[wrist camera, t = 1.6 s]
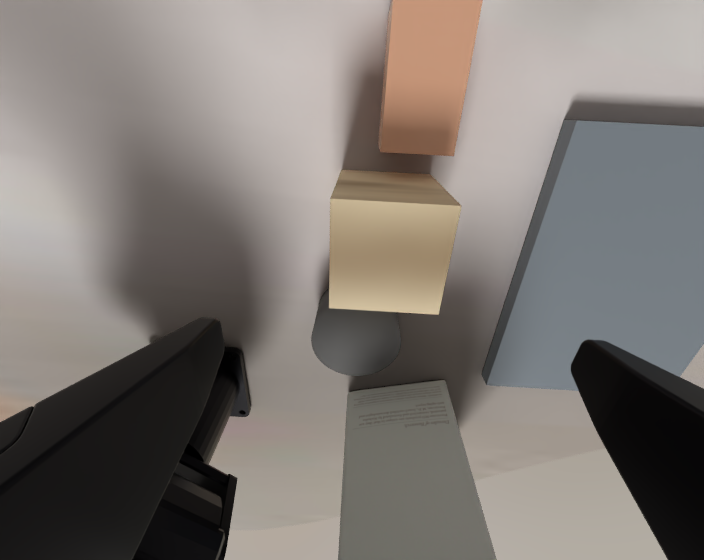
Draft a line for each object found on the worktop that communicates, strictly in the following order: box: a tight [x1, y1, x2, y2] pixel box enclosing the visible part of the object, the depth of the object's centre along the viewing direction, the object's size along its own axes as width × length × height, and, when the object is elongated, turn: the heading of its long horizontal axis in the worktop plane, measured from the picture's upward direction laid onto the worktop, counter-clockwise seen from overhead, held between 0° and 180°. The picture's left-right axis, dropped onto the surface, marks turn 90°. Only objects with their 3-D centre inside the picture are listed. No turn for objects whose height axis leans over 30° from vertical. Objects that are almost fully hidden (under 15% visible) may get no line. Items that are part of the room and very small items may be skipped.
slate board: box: [482, 120, 704, 391], centre depth 18 cm, size 16×12×1 cm
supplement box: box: [338, 380, 496, 560], centre depth 19 cm, size 7×7×13 cm
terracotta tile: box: [378, 0, 483, 156], centre depth 13 cm, size 5×3×3 cm, turn 177°
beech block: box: [329, 170, 461, 315], centre depth 15 cm, size 4×4×6 cm
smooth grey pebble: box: [311, 289, 401, 376], centre depth 19 cm, size 5×5×3 cm
